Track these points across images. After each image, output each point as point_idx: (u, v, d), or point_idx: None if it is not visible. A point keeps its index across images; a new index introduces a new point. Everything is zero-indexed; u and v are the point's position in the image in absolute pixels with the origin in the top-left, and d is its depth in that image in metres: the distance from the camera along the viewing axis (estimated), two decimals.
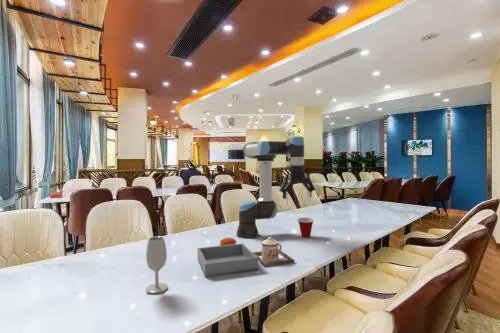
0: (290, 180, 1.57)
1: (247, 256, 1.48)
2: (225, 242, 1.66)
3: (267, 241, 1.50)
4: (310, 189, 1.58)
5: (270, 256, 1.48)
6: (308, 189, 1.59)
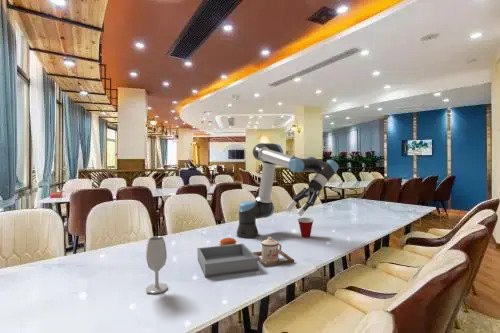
0: (306, 195, 1.62)
1: (247, 256, 1.48)
2: (225, 242, 1.66)
3: (267, 241, 1.50)
4: (307, 201, 1.50)
5: (270, 256, 1.48)
6: (307, 202, 1.51)
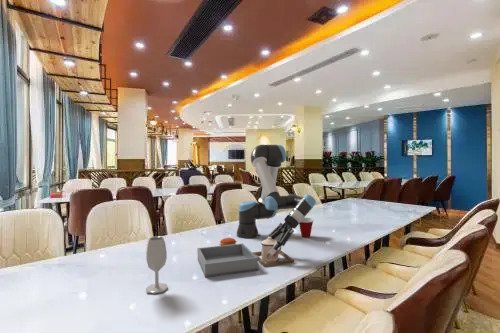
0: (282, 231, 1.57)
1: (247, 256, 1.48)
2: (225, 242, 1.66)
3: (267, 241, 1.50)
4: (279, 240, 1.47)
5: (270, 255, 1.48)
6: None
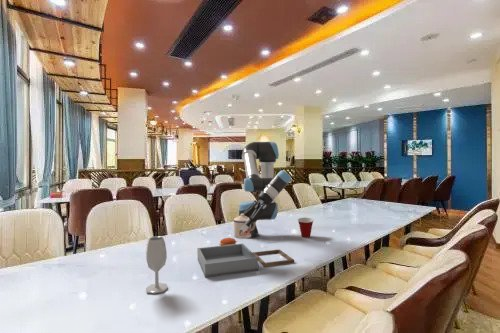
0: None
1: (247, 256, 1.48)
2: (225, 242, 1.66)
3: (239, 217, 1.45)
4: (251, 217, 1.43)
5: (242, 232, 1.43)
6: None
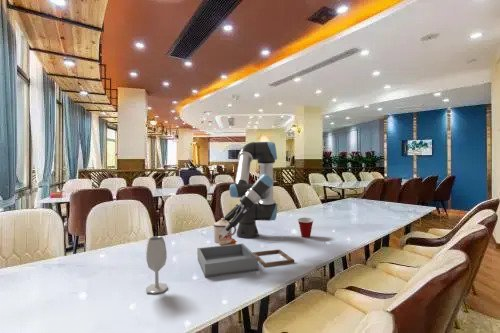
0: None
1: (247, 256, 1.48)
2: None
3: (219, 222, 1.42)
4: (231, 221, 1.40)
5: (222, 237, 1.40)
6: None
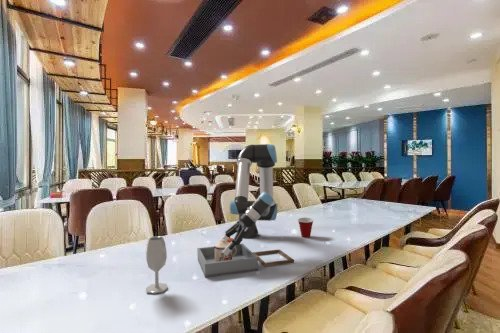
0: None
1: (247, 256, 1.48)
2: None
3: (220, 244, 1.42)
4: (234, 240, 1.38)
5: (222, 259, 1.40)
6: (234, 240, 1.39)
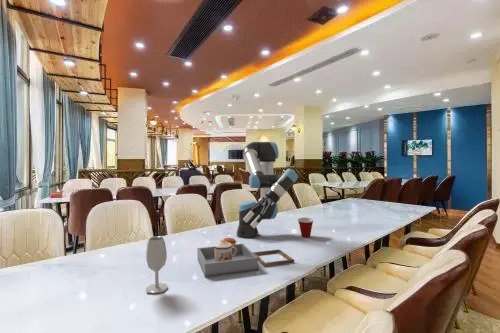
0: (263, 205, 1.55)
1: (247, 256, 1.48)
2: None
3: (219, 244, 1.42)
4: (261, 213, 1.43)
5: (222, 259, 1.40)
6: None
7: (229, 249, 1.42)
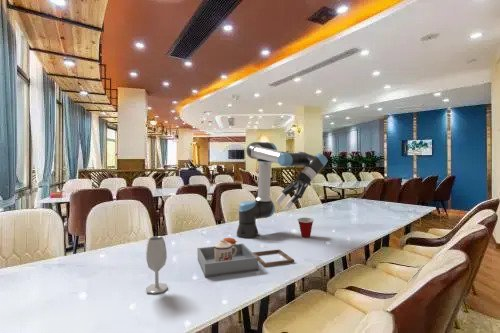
0: (295, 188, 1.64)
1: (247, 256, 1.48)
2: None
3: (219, 244, 1.42)
4: (295, 194, 1.52)
5: (222, 259, 1.40)
6: None
7: (229, 249, 1.41)
